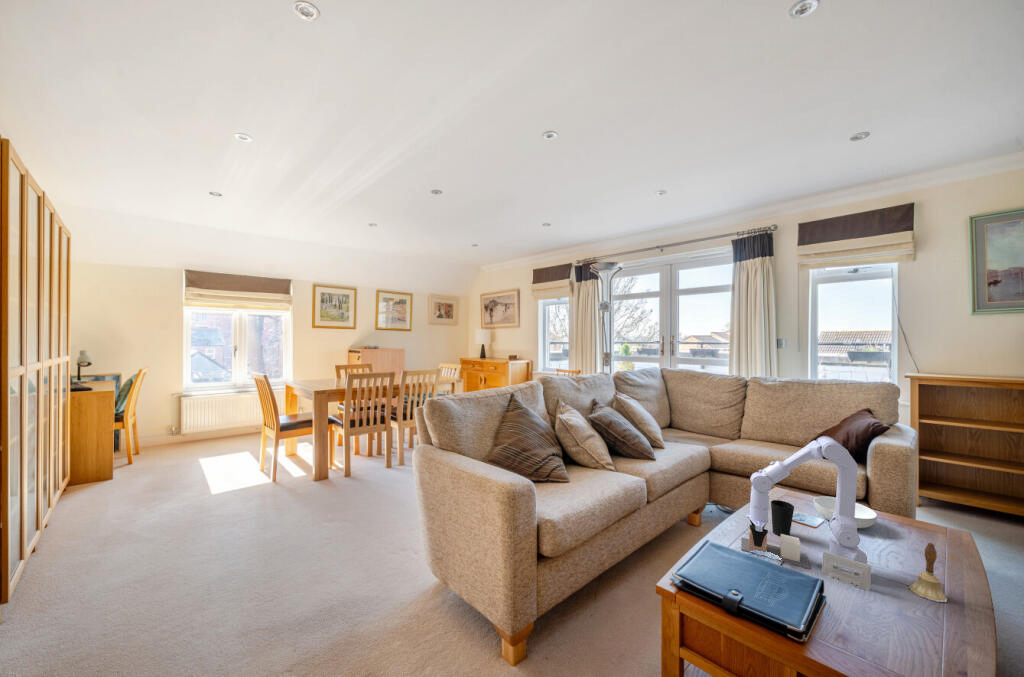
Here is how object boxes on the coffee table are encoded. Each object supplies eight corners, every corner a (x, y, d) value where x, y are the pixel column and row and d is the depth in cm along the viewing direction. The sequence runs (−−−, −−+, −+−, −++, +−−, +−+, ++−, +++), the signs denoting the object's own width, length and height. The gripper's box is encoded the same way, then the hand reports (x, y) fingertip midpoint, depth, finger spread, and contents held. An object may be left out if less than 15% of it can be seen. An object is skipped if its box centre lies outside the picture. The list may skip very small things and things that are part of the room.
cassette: (821, 575, 131) (822, 552, 130) (821, 572, 132) (823, 550, 132) (870, 592, 123) (871, 567, 122) (870, 589, 124) (871, 565, 124)
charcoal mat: (805, 554, 142) (805, 553, 142) (809, 568, 134) (809, 567, 134) (741, 538, 153) (741, 537, 152) (741, 550, 144) (741, 549, 144)
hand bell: (953, 607, 117) (956, 553, 117) (915, 596, 121) (918, 545, 121) (940, 591, 124) (943, 541, 124) (904, 582, 128) (907, 533, 128)
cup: (797, 539, 153) (799, 508, 153) (777, 538, 153) (779, 508, 153) (784, 529, 161) (785, 500, 161) (765, 528, 161) (766, 499, 161)
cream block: (797, 554, 142) (798, 538, 141) (799, 562, 137) (800, 545, 137) (779, 549, 144) (780, 533, 144) (780, 556, 140) (781, 540, 140)
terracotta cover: (765, 546, 147) (766, 530, 146) (766, 553, 142) (767, 536, 142) (748, 541, 149) (749, 526, 149) (748, 548, 145) (749, 532, 145)
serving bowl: (826, 529, 162) (826, 513, 162) (804, 508, 182) (805, 493, 182) (888, 538, 156) (889, 521, 156) (859, 515, 176) (860, 500, 176)
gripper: (746, 496, 154) (744, 531, 154) (746, 510, 141) (744, 548, 141) (768, 501, 150) (766, 536, 150) (770, 516, 137) (768, 554, 138)
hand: (757, 542), depth 146 cm, fingers closed on terracotta cover, 5 cm apart
